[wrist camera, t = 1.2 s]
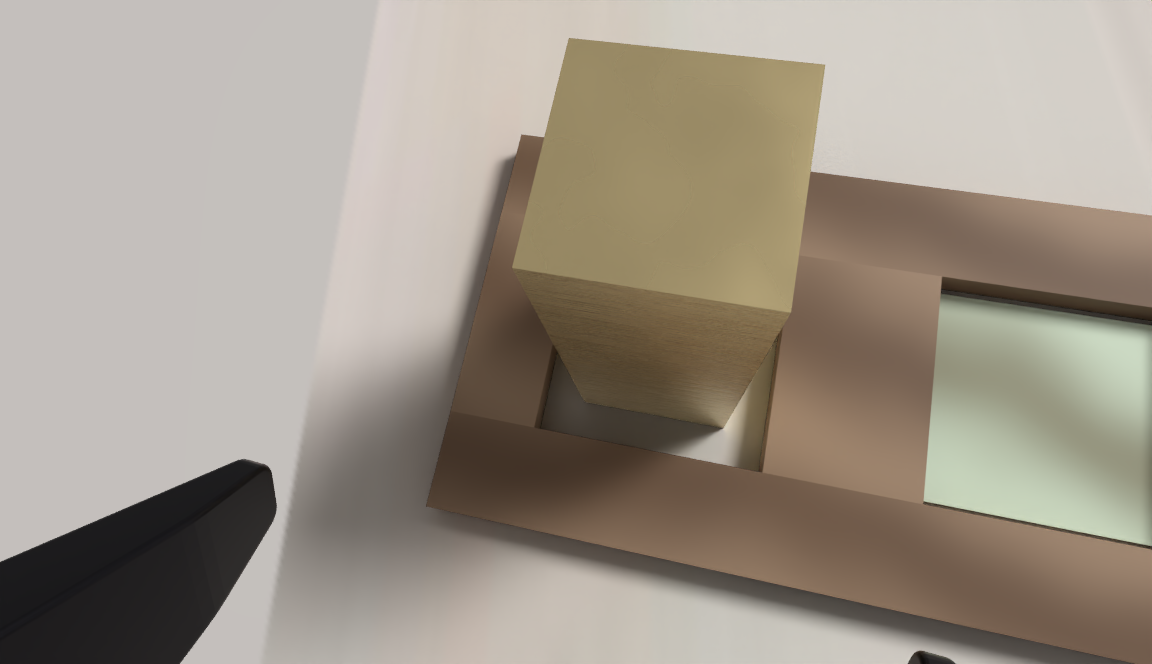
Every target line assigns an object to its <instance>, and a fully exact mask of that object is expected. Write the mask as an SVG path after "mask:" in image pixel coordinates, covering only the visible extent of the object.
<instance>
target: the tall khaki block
mask: <svg viewBox="0 0 1152 664" xmlns="http://www.w3.org/2000/svg"><path fill="white" fill-rule="evenodd" d="M824 70H825V65H822V64H813V63H803V62H793V61H784V60H774V59H765V58H755V57H745V56H736V55H726V54H717V53H707V52H697V51H688V50H678V49H669V48H659V47H650V46H640V45H630V44H621V43H611V42H602V41H592V40H582V39H573V38H569V40H568V44H567V48H566V52H565V56H564V60H563V64H562V68H561V72H560V76H559V80H558V84H557V88H556V92H555V96H554V100H553V105H552V109H551V113H550V117H549V121H548V125H547V129H546V133H545V137H544V141H543V145H542V149H541V153H540V157H539V161H538V165H537V169H536V173H535V177H534V181H533V185H532V189H531V193H530V197H529V201H528V205H527V210H526V214H525V218H524V222H523V226H522V230H521V234H520V238H519V242H518V246H517V250H516V254H515V258H514V262H513V266H512V269H513V271H514V272H515V274H516V276H517V278H518V280H519V282H520V284H521V285H522V287H523V289H524V291H525V293H526V295H527V296H528V298H529V300H530V302H531V304H532V306H533V308H534V309H535V311H536V313H537V315H538V317H539V319H540V320H541V322H542V324H543V326H544V328H545V330H546V332H547V333H548V335H549V337H550V339H551V341H552V343H553V344H554V346H555V348H556V350H557V352H558V354H559V356H560V357H561V359H562V361H563V363H564V365H565V367H566V368H567V370H568V372H569V374H570V376H571V378H572V380H573V381H574V383H575V385H576V387H577V389H578V391H579V392H580V394H581V396H582V398H583V400H584V402H588V403H593V404H598V405H604V406H609V407H614V408H619V409H625V410H630V411H635V412H641V413H646V414H651V415H656V416H662V417H667V418H672V419H678V420H683V421H688V422H693V423H699V424H704V425H709V426H715V427H720V428H724V426H725V425H726V423H727V421H728V420H729V418H730V416H731V414H732V413H733V411H734V409H735V408H736V406H737V404H738V402H739V401H740V399H741V397H742V396H743V394H744V392H745V390H746V389H747V387H748V385H749V384H750V382H751V380H752V379H753V377H754V375H755V373H756V372H757V370H758V368H759V367H760V365H761V363H762V361H763V360H764V358H765V356H766V355H767V353H768V351H769V349H770V348H771V346H772V344H773V343H774V341H775V339H776V337H777V336H778V334H779V332H780V331H781V329H782V327H783V325H784V324H785V322H786V320H787V319H788V317H789V315H790V314H791V309H792V302H793V294H794V287H795V280H796V273H797V266H798V258H799V251H800V244H801V237H802V229H803V222H804V215H805V208H806V200H807V193H808V186H809V179H810V171H811V164H812V157H813V150H814V142H815V135H816V128H817V121H818V113H819V106H820V99H821V92H822V85H823V77H824Z"/></svg>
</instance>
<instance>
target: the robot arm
mask: <svg viewBox="0 0 1152 664" xmlns="http://www.w3.org/2000/svg"><path fill="white" fill-rule="evenodd" d="M276 508H277V505H276V498H275V491H274V484H273V478H272V472H271V470H270V468H269V467H268V466H267V465H265V464H261V463H258V462H254V461H251V460H246V459H241V460H238V461H235V462H232V463H230V464H228V465H225V466H223V467H221V468H218V469H216V470H214V471H211V472H209V473H207V474H204V475H202V476H200V477H197V478H195V479H193V480H190V481H188V482H186V483H183V484H181V485H179V486H176V487H174V488H172V489H169V490H167V491H165V492H162V493H160V494H158V495H155V496H153V497H151V498H148V499H146V500H144V501H141V502H139V503H137V504H134V505H132V506H130V507H128V508H125V509H123V510H121V511H118V512H116V513H114V514H111V515H109V516H106V517H104V518H102V519H99V520H97V521H95V522H93V523H90V524H88V525H86V526H83V527H81V528H78V529H76V530H74V531H71V532H69V533H67V534H65V535H62V536H60V537H57V538H55V539H53V540H50V541H48V542H46V543H43V544H41V545H39V546H36V547H34V548H32V549H30V550H27V551H25V552H22V553H20V554H18V555H16V556H13V557H11V558H8V559H6V560H4V561H1V562H0V664H180V663H181V661H182V660H183V659H184V657H185V656H186V655H187V653H188V652H189V651H190V649H191V648H192V647H193V645H194V644H195V643H196V641H197V640H198V639H199V637H200V636H201V635H202V633H203V632H204V630H205V629H206V628H207V627H208V625H209V624H210V622H211V621H212V620H213V618H214V617H215V615H216V614H217V612H218V611H219V609H220V608H221V606H222V605H223V603H224V602H225V600H226V598H227V597H228V595H229V593H230V592H231V590H232V588H233V587H234V585H235V584H236V582H237V580H238V579H239V577H240V575H241V574H242V572H243V570H244V569H245V567H246V565H247V563H248V562H249V560H250V559H251V557H252V555H253V554H254V552H255V550H256V549H257V547H258V546H259V544H260V542H261V541H262V539H263V537H264V536H265V534H266V532H267V531H268V529H269V527H270V526H271V524H272V522H273V520H274V517H275V514H276ZM908 664H955V663H954V662H953V661H952V660H950V659H948V658H946V657H943V656H939V655H936V654H932V653H928V652H925V651H917V652H915V653H914V654H913V655H912V657H911V658H910V660H909V662H908Z"/></svg>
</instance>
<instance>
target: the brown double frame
mask: <svg viewBox="0 0 1152 664" xmlns="http://www.w3.org/2000/svg"><path fill="white" fill-rule="evenodd" d="M543 141H544V137H536V136H528V135H521V139H520V142H519V146H518V150H517V154H516V158H515V162H514V166H513V170H512V174H511V177H510V181H509V185H508V189H507V193H506V197H505V201H504V205H503V209H502V212H501V216H500V220H499V224H498V228H497V232H496V236H495V240H494V244H493V247H492V251H491V255H490V259H489V263H488V267H487V271H486V275H485V279H484V282H483V286H482V290H481V294H480V298H479V302H478V306H477V310H476V314H475V317H474V321H473V325H472V329H471V333H470V337H469V341H468V345H467V349H466V352H465V356H464V360H463V364H462V368H461V372H460V376H459V380H458V384H457V387H456V391H455V395H454V399H453V403H452V407H451V411H450V415H449V419H448V422H447V426H446V430H445V434H444V438H443V442H442V446H441V450H440V454H439V457H438V461H437V465H436V469H435V473H434V477H433V481H432V485H431V489H430V492H429V496H428V500H427V504H426V506H427V507H431V508H436V509H440V510H445V511H449V512H454V513H459V514H463V515H468V516H472V517H477V518H481V519H486V520H490V521H495V522H499V523H504V524H508V525H513V526H517V527H522V528H526V529H531V530H535V531H540V532H544V533H549V534H553V535H558V536H562V537H567V538H571V539H576V540H580V541H585V542H589V543H594V544H598V545H603V546H607V547H612V548H616V549H621V550H625V551H630V552H634V553H639V554H643V555H648V556H652V557H657V558H661V559H666V560H670V561H675V562H679V563H684V564H688V565H693V566H697V567H702V568H706V569H711V570H715V571H720V572H724V573H729V574H733V575H738V576H742V577H747V578H751V579H756V580H760V581H765V582H769V583H774V584H778V585H783V586H787V587H792V588H796V589H801V590H805V591H810V592H814V593H819V594H823V595H828V596H832V597H837V598H841V599H846V600H850V601H855V602H859V603H864V604H868V605H873V606H877V607H882V608H886V609H891V610H895V611H900V612H904V613H909V614H913V615H918V616H922V617H927V618H931V619H936V620H940V621H945V622H949V623H954V624H958V625H963V626H967V627H972V628H976V629H981V630H985V631H990V632H994V633H999V634H1003V635H1008V636H1012V637H1017V638H1021V639H1026V640H1030V641H1035V642H1039V643H1044V644H1048V645H1053V646H1057V647H1062V648H1066V649H1071V650H1075V651H1080V652H1084V653H1089V654H1093V655H1098V656H1102V657H1107V658H1111V659H1116V660H1120V661H1125V662H1129V663H1134V664H1152V550H1151V549H1146V548H1141V547H1136V546H1131V545H1126V544H1121V543H1116V542H1111V541H1106V540H1101V539H1096V538H1091V537H1086V536H1081V535H1076V534H1070V533H1065V532H1060V531H1055V530H1050V529H1045V528H1040V527H1035V526H1030V525H1025V524H1020V523H1015V522H1010V521H1005V520H1000V519H995V518H990V517H985V516H979V515H974V514H969V513H964V512H959V511H954V510H949V509H944V508H939V507H934V506H929V505H924V504H923V501H924V502H929V503H934V504H939V505H944V506H949V507H954V508H959V509H964V510H969V511H974V512H979V513H985V514H990V515H995V516H1000V517H1005V518H1010V519H1015V520H1020V521H1025V522H1030V523H1035V524H1040V525H1045V526H1050V527H1056V528H1061V529H1066V530H1071V531H1076V532H1081V533H1086V534H1091V535H1096V536H1101V537H1106V538H1111V539H1116V540H1122V541H1127V542H1132V543H1137V544H1142V545H1147V546H1152V326H1151V325H1145V324H1138V323H1132V322H1125V321H1118V320H1112V319H1105V318H1098V317H1092V316H1085V315H1079V314H1072V313H1065V312H1059V311H1052V310H1046V309H1039V308H1032V307H1026V306H1019V305H1013V304H1006V303H999V302H993V301H986V300H980V299H973V298H966V297H960V296H953V295H946V294H941V289H944V290H951V291H958V292H964V293H971V294H978V295H984V296H991V297H997V298H1004V299H1011V300H1017V301H1024V302H1031V303H1037V304H1044V305H1051V306H1057V307H1064V308H1071V309H1077V310H1084V311H1091V312H1097V313H1104V314H1111V315H1117V316H1124V317H1131V318H1137V319H1144V320H1151V321H1152V216H1151V215H1143V214H1135V213H1127V212H1120V211H1112V210H1104V209H1096V208H1088V207H1081V206H1073V205H1065V204H1057V203H1050V202H1042V201H1034V200H1026V199H1018V198H1011V197H1003V196H995V195H987V194H980V193H972V192H964V191H956V190H948V189H941V188H933V187H925V186H917V185H910V184H902V183H894V182H886V181H878V180H871V179H863V178H855V177H847V176H839V175H832V174H824V173H816V172H810V179H809V186H808V193H807V200H806V208H805V215H804V222H803V229H802V237H801V244H800V251H799V258H798V266H797V273H796V280H795V287H794V294H793V302H792V309H791V314H790V315H789V317H788V319H787V320H786V322H785V324H784V325H783V327H782V329H781V331H780V332H779V334H778V339H777V346H776V353H775V360H774V367H773V374H772V381H771V388H770V395H769V402H768V409H767V416H766V423H765V430H764V437H763V445H762V452H761V459H760V466H759V472H757V471H752V470H747V469H742V468H737V467H732V466H727V465H721V464H716V463H711V462H706V461H701V460H696V459H691V458H686V457H681V456H676V455H671V454H666V453H661V452H656V451H651V450H646V449H641V448H635V447H630V446H625V445H620V444H615V443H610V442H605V441H600V440H595V439H590V438H585V437H580V436H575V435H570V434H565V433H560V432H555V431H550V430H544V429H540V426H541V421H542V417H543V413H544V408H545V404H546V399H547V395H548V390H549V386H550V381H551V377H552V372H553V368H554V363H555V359H556V354H557V350H556V348H555V346H554V344H553V343H552V341H551V339H550V337H549V335H548V333H547V332H546V330H545V328H544V326H543V324H542V322H541V320H540V319H539V317H538V315H537V313H536V311H535V309H534V308H533V306H532V304H531V302H530V300H529V298H528V296H527V295H526V293H525V291H524V289H523V287H522V285H521V284H520V282H519V280H518V278H517V276H516V274H515V272H514V271H513V269H512V266H513V262H514V258H515V254H516V250H517V246H518V242H519V238H520V234H521V230H522V226H523V222H524V218H525V214H526V210H527V205H528V201H529V197H530V193H531V189H532V185H533V181H534V177H535V173H536V169H537V165H538V161H539V157H540V153H541V149H542V145H543Z"/></svg>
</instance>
